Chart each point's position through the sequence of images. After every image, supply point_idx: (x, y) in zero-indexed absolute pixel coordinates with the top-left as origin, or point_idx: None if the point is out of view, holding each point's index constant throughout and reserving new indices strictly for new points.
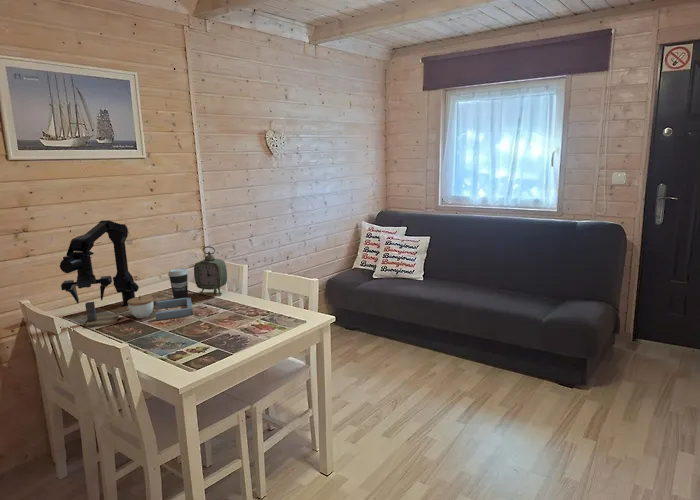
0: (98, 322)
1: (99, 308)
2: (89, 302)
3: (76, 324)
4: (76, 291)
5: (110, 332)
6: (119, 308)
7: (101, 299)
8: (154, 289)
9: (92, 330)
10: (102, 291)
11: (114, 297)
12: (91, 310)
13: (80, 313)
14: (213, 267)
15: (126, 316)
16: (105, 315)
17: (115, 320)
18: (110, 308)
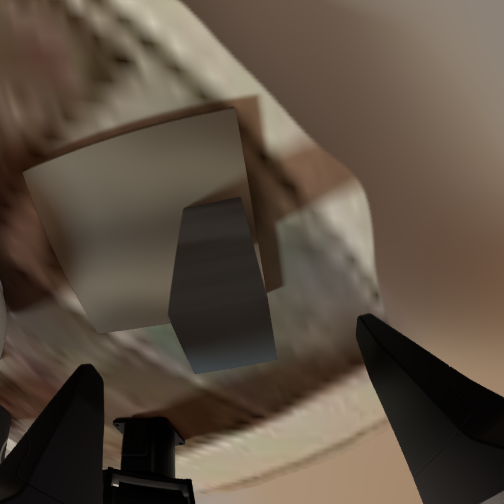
0: (143, 165)
1: (264, 409)
2: (237, 356)
3: (328, 214)
4: (415, 469)
5: (18, 2)
6: (162, 400)
7: (81, 371)
8: None
9: (153, 40)
10: (18, 456)
11: (244, 465)
12: (200, 256)
13: (337, 371)
14: None
15: (45, 291)
16: (161, 308)
17: (33, 189)
18: (209, 406)
